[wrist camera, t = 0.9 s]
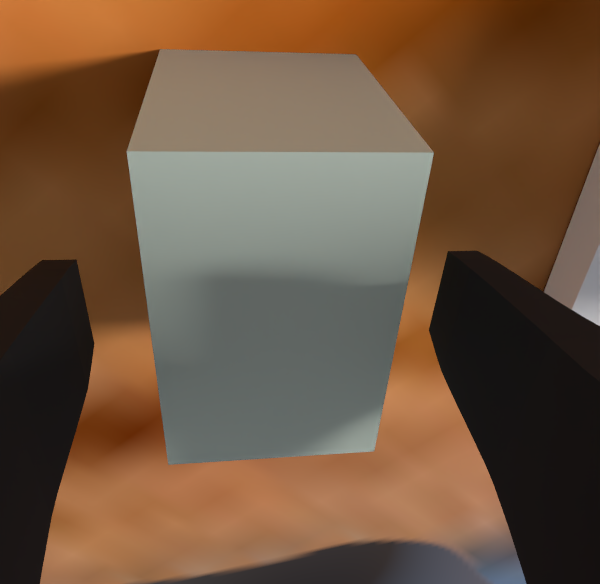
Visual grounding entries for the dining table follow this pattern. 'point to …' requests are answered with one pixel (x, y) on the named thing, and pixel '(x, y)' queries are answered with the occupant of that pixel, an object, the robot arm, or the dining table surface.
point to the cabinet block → (273, 248)
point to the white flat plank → (581, 254)
